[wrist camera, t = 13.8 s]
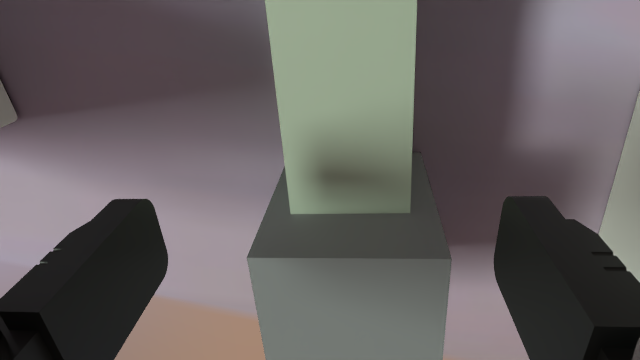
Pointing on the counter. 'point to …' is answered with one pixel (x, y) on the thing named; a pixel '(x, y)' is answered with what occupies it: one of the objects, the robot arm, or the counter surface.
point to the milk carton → (6, 108)
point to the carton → (626, 202)
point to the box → (349, 192)
